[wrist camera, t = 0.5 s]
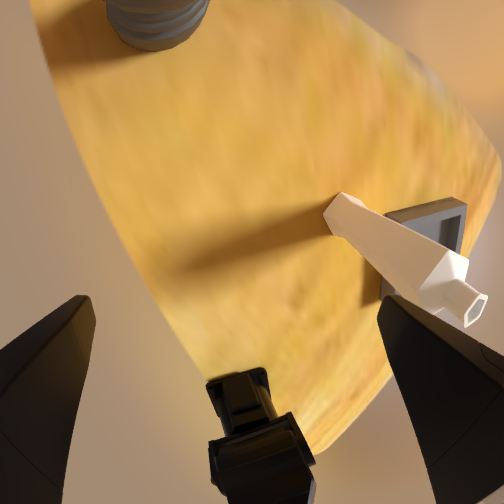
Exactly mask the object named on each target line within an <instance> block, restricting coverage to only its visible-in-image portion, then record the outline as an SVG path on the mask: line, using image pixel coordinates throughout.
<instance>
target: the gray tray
mask: <svg viewBox="0 0 504 504" xmlns="http://www.w3.org/2000/svg"><path fill="white" fill-rule="evenodd" d="M466 212H467V204H466V203H464V202H462V201H460V200H458V199H455V198H453V197H450V198H446V199H442V200H438V201H434V202H430V203H426V204H422V205H418V206H414V207H410V208H406V209H402V210H398V211H394V212H390V213H386V217H387V218H389V219H391V220H393V221H395V222H397V223H399V224H401V225H403V226H405V227H407V228H409V229H411V230H413V231H415V232H417V233H419V234H421V235H423V236H425V237H427V238H429V239H431V240H433V241H435V242H437V243H439V244H441V245H442V246H444V247H446V248H448V249H450V250H452V251H454V252H455V253H457V254H459V255H460V250H461V245H462V239H463V233H464V226H465V219H466ZM389 294H397V295H399V296H401V295H400V294H399V292H398V291H397V290H396V289H395V288H394V287H393V286H392V285H391V284H390V283H389V282H388V281H387V280H386V279H385V278H384V277H383V276H382V282H381V291H380V300H381V301H382V300H383V298H384V296H385V295H389ZM401 297H402V296H401Z"/></svg>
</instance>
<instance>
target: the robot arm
mask: <svg viewBox="0 0 504 504" xmlns="http://www.w3.org/2000/svg"><path fill="white" fill-rule="evenodd" d="M377 322H378V326H379V329H380V333H381V336H382V339H383V343H384V346H385V350H386V354H387V357H388V360H389V363H390V366H391V368H392V371H393V373H394V375H395V378H396V381H397V384H398V386H399V389H400V391H401V394H402V397H403V400H404V402H405V405H406V407H407V410H408V413H409V416H410V419H411V422H412V425H413V428H414V430H415V434H416V437H417V439H418V443H419V446H420V449H421V452H422V455H423V458H424V461H425V465H426V468H427V472H428V475H429V479H430V482H431V486H432V489H433V493H434V496H435V500H436V504H478V503H480V502H481V501H483V502H484V504H504V356H502V355H501V354H499V353H497V352H495V351H494V350H492V349H490V348H489V347H487V346H485V345H484V344H482V343H480V342H478V341H477V340H475V339H473V338H472V337H470V336H468V335H467V334H465V333H463V332H461V331H460V330H458V329H457V328H455V327H453V326H451V325H450V324H448V323H446V322H445V321H442V320H441V319H439V318H437V317H436V316H434V315H433V314H431V313H429V312H427V311H426V310H424V309H422V308H420V307H419V306H417V305H415V304H413V303H412V302H410V301H408V300H406V299H405V298H403V297H401V296H399V295H397V294H389V295H385V296H384V298H383V300H382V303H381V306H380V309H379V312H378V315H377ZM95 326H96V318H95V314H94V310H93V307H92V302H91V299H90V298H89V296H87V295H76V296H74V297H73V298H71V299H70V300H68V301H67V302H65V303H64V304H63V305H61V306H60V307H58V308H57V309H56V310H54V311H53V312H51V313H50V314H48V315H47V316H45V317H44V318H43V319H41V320H40V321H39V322H37V323H36V324H34V325H33V326H32V327H30V328H29V329H27V330H26V331H25V332H23V333H22V334H21V335H19V336H18V337H17V338H16V339H14V340H13V341H11V342H10V343H9V344H7V345H6V346H5V347H3V348H2V349H1V350H0V504H61V503H62V495H63V487H64V479H65V472H66V466H67V460H68V455H69V449H70V444H71V439H72V434H73V429H74V424H75V419H76V414H77V410H78V406H79V402H80V398H81V394H82V390H83V386H84V382H85V378H86V374H87V370H88V366H89V360H90V354H91V348H92V342H93V337H94V331H95ZM206 390H207V392H208V394H209V397H210V399H211V402H212V404H213V406H214V409H215V411H216V414H217V416H218V417H219V418H220V420H221V423H222V427H223V430H224V434H225V437H224V438H220V439H217V440H212V441H209V448H208V452H209V462H210V472H211V483H212V484H213V485H215V486H217V487H218V489H219V491H220V492H221V493H222V494H223V495H224V496H226V497H227V500H228V503H229V504H313V502H314V497H315V491H316V482H315V480H314V477H313V475H312V473H311V471H310V469H309V467H310V466H313V465H315V464H316V462H315V459H314V457H313V455H312V453H311V451H310V448H309V446H308V444H307V442H306V440H305V438H304V436H303V434H302V432H301V430H300V428H299V426H298V424H297V422H296V421H295V419H294V417H293V415H292V413H291V411H290V412H288V413H286V414H285V415H283V416H280V417H278V415H277V413H276V411H275V408H274V406H273V404H272V401H271V395H270V389H269V383H268V377H267V372H266V370H265V368H258V369H255V370H252V371H248V372H245V373H242V374H238V375H235V376H231V377H227V378H224V379H220V380H216V381H213V382H209V383H207V384H206Z"/></svg>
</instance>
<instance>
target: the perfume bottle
mask: <svg viewBox="0 0 504 504" xmlns="http://www.w3.org/2000/svg"><path fill="white" fill-rule="evenodd" d="M323 217H324V219H325V221H326V223H327V225H328V227H329V229H330V231H331V232H332V234H333V235H335V236H339V237H343V238H345V239H346V240H347V241H348V242H349V243H350V244H351V245H352V246H353V247H354V248H355V249H356V250H357V251H358V252H359V253H360V254H361V255H362V256H363V257H364V258H365V259H366V260H367V261H368V262H369V263H370V264H371V265H372V266H373V267H374V268H375V269H376V270H377V271H378V272H379V273H380V274H381V275H382V276H383V277H384V278H385V279H386V280H387V281H388V282H389V283H390V284H391V285H392V286H393V287H394V288H395V289H396V290H397V291H398V292H399V294H400V295H401V296H402V297H403V298H405V299H406V300H408V301H410V302H412V303H413V304H415V305H417V306H419V307H420V308H422V309H424V310H426V311H427V312H429V313H431V314H433V315H434V314H436V313H437V312H439V311H440V310H442V309H444V308H447V309H448V310H449V311H450V312H451V313H452V314H454V315H455V316H456V317H457V318H458V319H459V320H461V321H462V322H463V325H464V327H465V328H466V327H467V326H469V325H470V324H472V323H473V322H474V321H476V320H477V319H478V318H479V317H480V315H481V313H482V311H483V309H484V306H485V304H486V302H487V299H488V296H487V295H484V294H481V293H479V292H478V291H476V290H475V289H474V288H472V287H471V286H470V285H468V284H467V283H466V282H464V280H465V277H466V273H467V269H468V265H469V260H468V259H466V258H465V257H463V256H461V255H459V254H457V253H455V252H454V251H452V250H450V249H448V248H446V247H444V246H442V245H441V244H439V243H437V242H435V241H433V240H431V239H429V238H427V237H425V236H423V235H421V234H419V233H417V232H415V231H413V230H411V229H409V228H407V227H405V226H403V225H401V224H399V223H397V222H395V221H393V220H391V219H389V218H387V217H385V216H382V215H380V214H378V213H376V212H374V211H372V210H370V209H367V208H366V207H365V206H364V204H363V203H362V202H361V201H360V200H359V199H357V198H354V197H352V196H350V195H348V194H345V193H343V192H340V193H339V194H338V195H337V196H336V197H335V199H334V200H333V201H332V202H331V204H330V205H329V206H328V207H327V209H326V210H325V211H324V213H323Z"/></svg>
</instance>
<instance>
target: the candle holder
mask: <svg viewBox="0 0 504 504" xmlns="http://www.w3.org/2000/svg"><path fill="white" fill-rule="evenodd" d="M103 1H105V2H106V6H107V16H108V19H109V20H110V22H111V24H112V26H113V28H114V29H115V31H116V32H117V34H118V35H119V37H120V38H121V39H122V41H123V42H125V43H126V44H128V45H130V46H132V47H134V48H135V49H137V50H145V51H153V52H156V51H160V50H165V49H170V48H173V47H175V46H177V45H178V44H180V43H182V42H184V41H185V40H187V39H188V38H189V37H190V36H191V35H192V34H193V32H194V31H195V30H196V29H197V28H198V27H199V25H200V23H201V21H202V19H203V17H204V15H205V13H206V10H207V7H208V4H209V1H210V0H103Z"/></svg>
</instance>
